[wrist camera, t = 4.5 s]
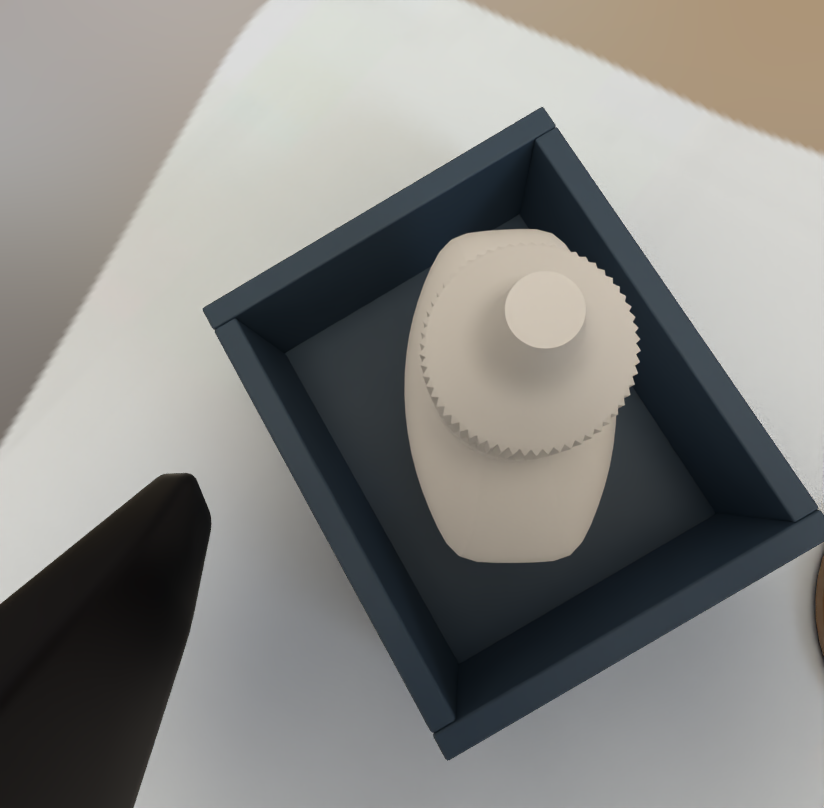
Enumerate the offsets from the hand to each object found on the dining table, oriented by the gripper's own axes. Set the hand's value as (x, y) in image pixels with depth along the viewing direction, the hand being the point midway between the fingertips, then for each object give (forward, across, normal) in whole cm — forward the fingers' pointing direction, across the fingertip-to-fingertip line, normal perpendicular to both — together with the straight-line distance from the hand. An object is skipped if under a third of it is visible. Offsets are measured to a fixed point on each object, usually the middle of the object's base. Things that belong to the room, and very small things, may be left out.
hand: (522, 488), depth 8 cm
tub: (+8, 0, +5) cm, 9 cm away
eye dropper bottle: (+8, 0, +5) cm, 9 cm away
